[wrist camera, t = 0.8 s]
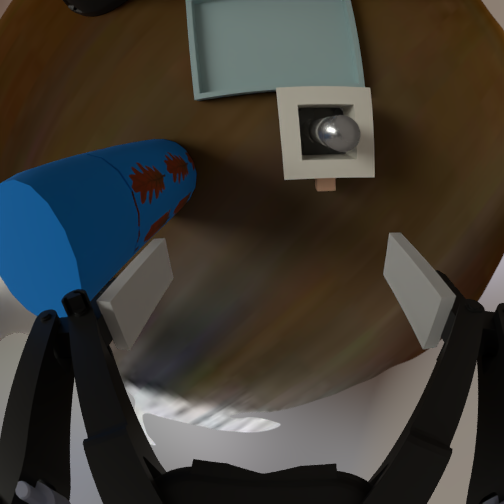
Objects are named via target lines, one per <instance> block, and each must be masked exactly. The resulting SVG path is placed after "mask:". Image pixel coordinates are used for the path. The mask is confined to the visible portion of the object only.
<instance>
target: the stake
mask: <svg viewBox="0 0 504 504" xmlns="http://www.w3.org/2000/svg"><path fill="white" fill-rule="evenodd" d="M298 116H299V127H300V139H301V152H302V155H321V154H345V153H346V152H347V151H350V150H352V149H354V148H355V147H356V146H357V145H358V143H359V141H360V129H359V126H358V124H357V123H356V122H355V121H354V120H353V119H352V118H350V117H348V116H345V115H343V108H334V107H325V108H298Z"/></svg>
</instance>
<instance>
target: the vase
mask: <svg viewBox="0 0 504 504" xmlns="http://www.w3.org/2000/svg"><path fill="white" fill-rule="evenodd" d="M36 317H37V316H36V315H34V314H33V313H31V312H30V311H28V310H27V309H26V308H25V307H24V306H23V305H22V304H21V303H20V302H19V301H18V300H17V299H16V298H15V297H14V296H13V295H12V293H11V292H10V290H9V289H8V287H7V286H6V284H5V283H4V281H3V280H2V278H1V277H0V341H1V340H2V339H3V338H4V337H5V336H8V335H10V334H13V333H24V334H27V335H29V334H30V331H31V329H32V326H33V324H34V321H35V319H36Z"/></svg>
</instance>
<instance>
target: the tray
mask: <svg viewBox="0 0 504 504" xmlns="http://www.w3.org/2000/svg"><path fill="white" fill-rule="evenodd" d="M186 11H187V24H188V37H189V49H190V59H191V70H192V80H193V89H194V98H195V100H197V101H202V100H208V99H215V98H221V97H228V96H236V95H244V94H254V93H264V92H276V88H279V87H299V86H347V87H365V83H364V75H363V67H362V59H361V53H360V46H359V40H358V35H357V29H356V24H355V19H354V14H353V9H352V5H351V1H350V0H186Z"/></svg>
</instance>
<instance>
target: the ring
mask: <svg viewBox="0 0 504 504" xmlns="http://www.w3.org/2000/svg"><path fill="white" fill-rule="evenodd" d="M276 94H277V103H278V113H279V124H280V134H281V145H282V157H283V170H284V180H293V179H314V178H315V188H316V189H317V191H336V185H335V178H354V177H375V162H374V131H373V114H372V101H371V91H370V88H366V87H347V86H299V87H279V88H276ZM325 107H334V108H343V115H345V116H348V117H350V118H352V119H353V120H354V121H355V122H356V123H357V124H358V126H359V129H360V141H359V143H358V145H357V146H356V147H355V148H354V149H352V150H350V151H347V152H346V154H321V155H302V152H301V139H300V127H299V116H298V108H325Z"/></svg>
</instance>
